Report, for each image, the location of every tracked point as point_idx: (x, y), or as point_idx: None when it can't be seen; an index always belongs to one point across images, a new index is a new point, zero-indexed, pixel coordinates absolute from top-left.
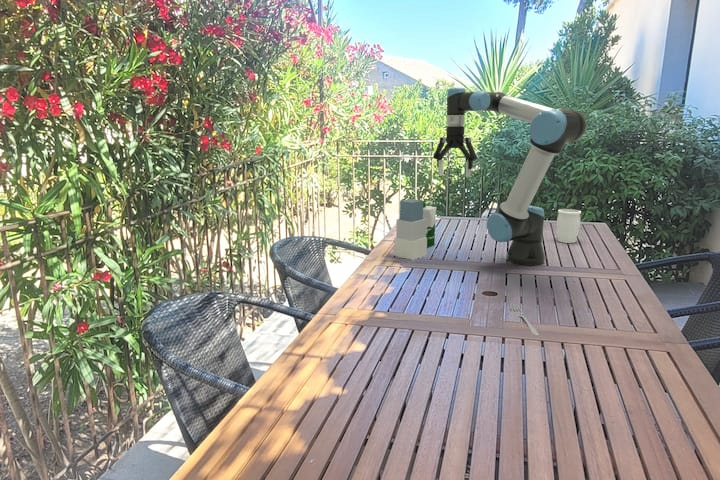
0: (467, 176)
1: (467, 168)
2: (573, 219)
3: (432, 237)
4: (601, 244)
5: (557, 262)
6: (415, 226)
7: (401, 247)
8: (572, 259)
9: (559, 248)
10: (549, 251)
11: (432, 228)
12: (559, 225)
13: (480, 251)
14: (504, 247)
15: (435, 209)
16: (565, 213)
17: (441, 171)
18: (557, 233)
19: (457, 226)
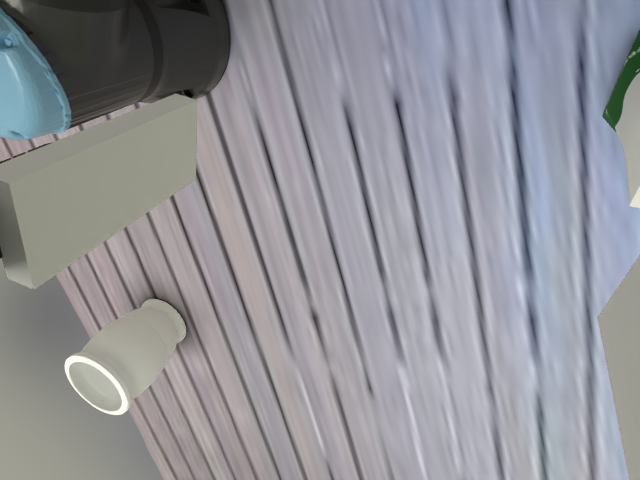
0: (171, 102)
1: (89, 129)
2: (89, 342)
3: (617, 80)
4: (94, 306)
5: None
6: None
7: None
8: None
9: (149, 235)
10: None
11: (627, 84)
12: (142, 338)
13: (351, 87)
14: (288, 190)
15: (635, 179)
16: (94, 358)
17: (634, 315)
18: (172, 334)
19: (541, 458)
